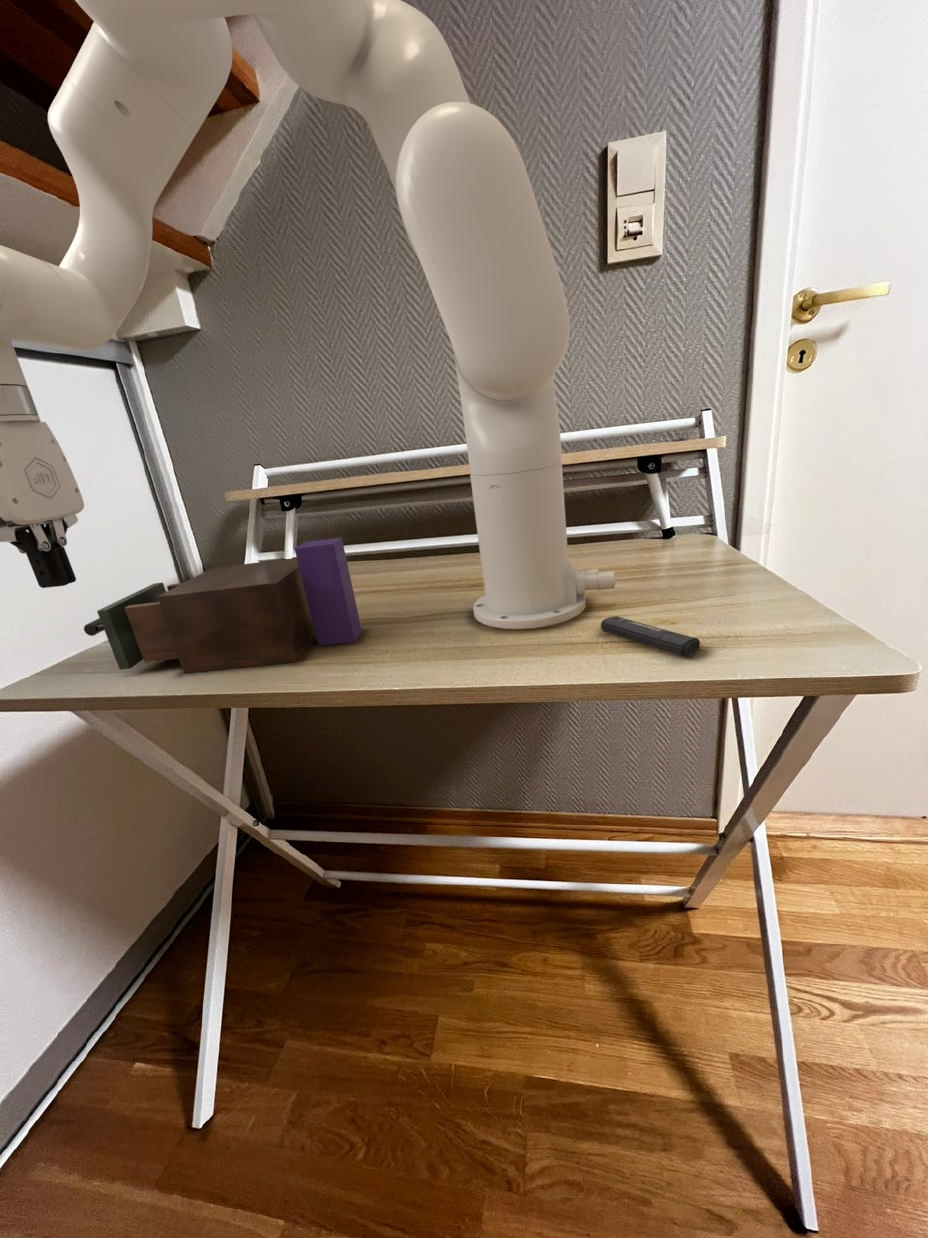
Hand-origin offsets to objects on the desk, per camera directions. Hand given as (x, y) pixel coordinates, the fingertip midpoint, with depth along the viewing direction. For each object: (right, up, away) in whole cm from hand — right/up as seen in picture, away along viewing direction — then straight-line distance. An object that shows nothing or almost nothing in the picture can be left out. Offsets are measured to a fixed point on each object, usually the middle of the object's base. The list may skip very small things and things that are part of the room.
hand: (58, 584), depth 60 cm
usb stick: (+62, -6, -11) cm, 63 cm away
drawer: (+12, -7, +2) cm, 14 cm away
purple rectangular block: (+31, -6, 0) cm, 32 cm away
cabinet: (+22, -7, +1) cm, 23 cm away
